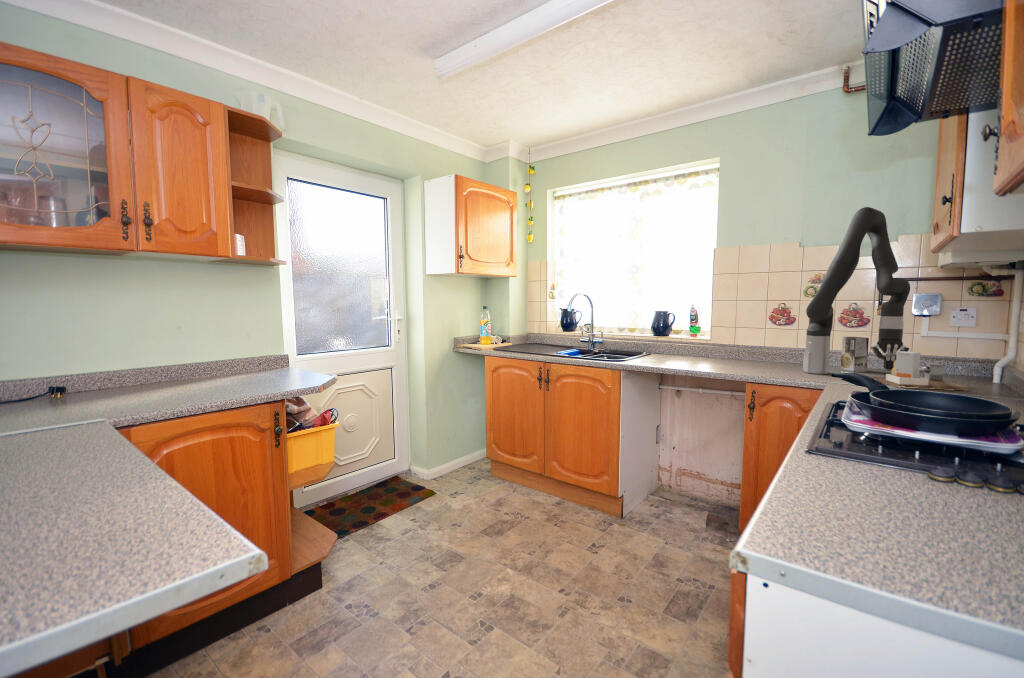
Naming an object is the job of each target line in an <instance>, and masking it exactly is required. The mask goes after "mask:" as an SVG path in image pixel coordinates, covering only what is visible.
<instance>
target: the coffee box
mask: <svg viewBox="0 0 1024 678" xmlns="http://www.w3.org/2000/svg"><path fill="white" fill-rule="evenodd" d="M841 339H842V340H841V356H840V357H841V359H840V370H842V371H848V372H849V371H850V372H854V371H855V373H856V372H857V373H860V372H861V373H867V370H868V358H869V357H868V355H869V343H870V342H869V340H870V339H869V337H861V336H842V338H841Z"/></svg>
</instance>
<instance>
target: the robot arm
mask: <svg viewBox="0 0 1024 678" xmlns="http://www.w3.org/2000/svg"><path fill="white" fill-rule="evenodd" d="M866 235H867V236H868V238H869V239H870V243H871V260H872V263H873V266H874V268H875V271H876V289H877V291H878V292H879V294H880V295H882V296H885V297H887V296H889V297H890V298H889V300H888V301H885V302H883V303H882V304H881V305H880V306H881V308H880V318H879V323H878V325H879V326H878V341H877V342H876V344H875V345H874V346H873V345H872V346H870V350H871V351H872V352H873V353H874V354H875V356H876V357H877V358H878V359H879V360H883V368H884V370H886V371H892V369H893V366H894V361H896V355H897V352H898V351H905V352H909V351H910V347H906V346H905V345H904V343H903V336H904V335H903V334H904V328H905V327H904V324H905V323H904V309H905V307H904V306H905V304H906V302H907V299H908V298H909V295H910V292H911V283H910V282H909V281H908V279H906V278H902V277H901V278H900V277H899V278H898V277H896V278H895V277H893V275H894V274H896V273H897V272H898V270H899V266H898V265H899V264H898V261H897V259H896V257H895V254H894V252H893V249H892V246H891V241H890V239H889V231H888V225H887V218H886V215H885V213H883V212H882V211H881V210H878V209H875V208H873V207H869V206H864V207H862V208H860V209H858V210H857V211H856V212H855V213H854V214H853V216H852V217H851V220H850V223H849V225H848V227H847V230H846V232H845V235H844V237H843V239H842V242H841V243H840V246H839V248H838V249H837V251H836V253H835V256H834V257H833V259H832V261H831V262H830V264H829V266H828V269H827V270H826V273H825V275H824V277H823V278H822V281H821V284H820V286H819V288H818V290H817V292H816V293H815V295H814V296H813V298H811V299H812V300H811V301H810V302H809V303H808V305H807V307H806V310H805V311H806V312H805V313H806V316H807V318H808V327H807V329H806V334H805V335H806V338H805V350H804V351H803V358H802V359H803V362H802V363H803V364H802V372H805V373H807V374H809V373H810V374H817V375H818V374H819V375H820V374H821V375H823V374H824V375H825V374H829V369H830V368H829V367H830V353H831V352H830V351H831V336H832V334H831V333H832V330H833V324H834V323H833V322H834V321H833V320H834V308H833V306H832V305H833V304H834V301H835V300H836V297H837V295H838V294H839V292H840V291H841V290H842V288H844V287H845V285H846V284H847V282H848V281H849V280H850V279H851V277H852V276H853V274H854V272H855V270H856V269H857V266H858V264H859V261H860V256H861V245H862V243H863V240H864V238H865V236H866ZM880 350H881V351H880Z"/></svg>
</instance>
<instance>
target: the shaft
mask: <svg viewBox="0 0 1024 678" xmlns="http://www.w3.org/2000/svg"><path fill="white" fill-rule="evenodd" d="M895 367H896V360H895V361H894V366H893V369H892V370H890V372H891V373H890V374H895ZM929 370H930V367H924V366H922V367H921V366H920V367H919V373H923V372H929Z"/></svg>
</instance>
